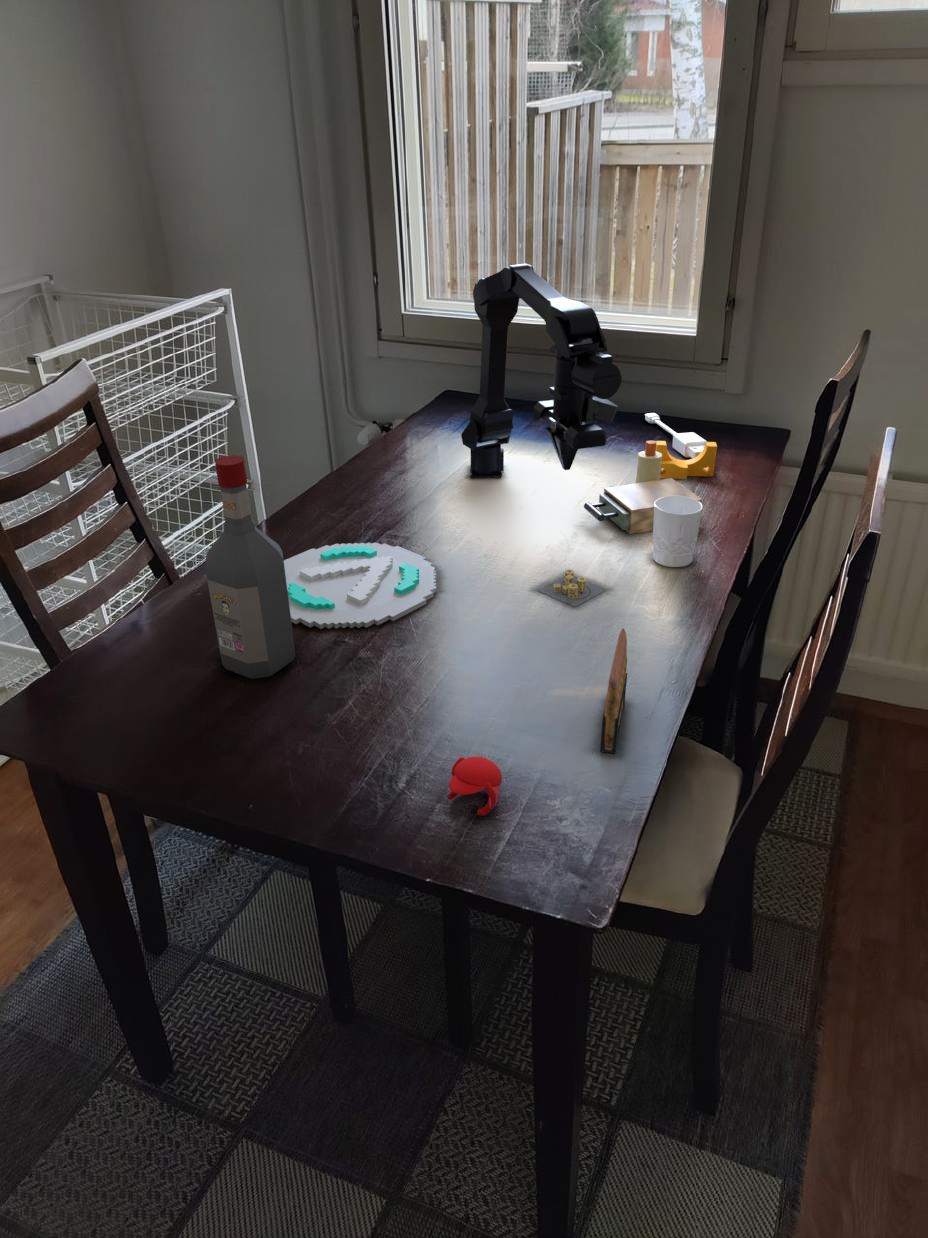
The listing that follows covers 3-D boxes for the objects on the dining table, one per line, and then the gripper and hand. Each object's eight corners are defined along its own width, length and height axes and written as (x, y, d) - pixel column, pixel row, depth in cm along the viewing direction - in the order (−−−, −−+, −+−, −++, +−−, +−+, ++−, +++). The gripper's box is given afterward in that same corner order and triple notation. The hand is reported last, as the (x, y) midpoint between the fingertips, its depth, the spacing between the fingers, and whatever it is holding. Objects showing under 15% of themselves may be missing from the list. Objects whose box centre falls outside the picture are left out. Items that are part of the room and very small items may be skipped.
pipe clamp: (654, 477, 189) (657, 447, 186) (653, 470, 193) (656, 440, 190) (714, 479, 188) (718, 449, 185) (711, 471, 192) (715, 441, 188)
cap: (457, 777, 108) (456, 736, 105) (507, 785, 107) (507, 744, 104) (438, 823, 102) (437, 781, 99) (491, 832, 100) (491, 789, 97)
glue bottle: (645, 499, 180) (650, 447, 174) (630, 491, 183) (634, 440, 178) (663, 493, 182) (668, 442, 176) (647, 486, 185) (652, 436, 180)
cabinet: (630, 534, 166) (632, 510, 163) (602, 510, 175) (604, 487, 173) (699, 522, 170) (702, 499, 167) (668, 500, 179) (671, 477, 176)
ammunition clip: (610, 702, 121) (616, 623, 115) (624, 704, 121) (631, 625, 114) (600, 752, 112) (606, 669, 106) (615, 754, 112) (622, 671, 106)
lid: (471, 580, 151) (471, 571, 150) (340, 648, 134) (339, 638, 133) (358, 533, 168) (357, 525, 167) (229, 587, 150) (227, 579, 149)
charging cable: (657, 420, 224) (658, 407, 222) (714, 461, 195) (716, 446, 194) (637, 422, 223) (638, 408, 221) (692, 463, 195) (693, 448, 193)
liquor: (261, 685, 126) (229, 478, 111) (213, 666, 130) (176, 465, 115) (305, 654, 132) (281, 455, 117) (258, 637, 137) (229, 443, 122)
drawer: (602, 533, 164) (603, 517, 163) (578, 512, 173) (579, 496, 171) (688, 519, 169) (689, 503, 168) (661, 499, 177) (662, 484, 176)
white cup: (700, 553, 159) (707, 499, 154) (690, 572, 152) (696, 517, 147) (655, 545, 161) (660, 492, 156) (643, 564, 155) (648, 509, 150)
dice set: (568, 578, 151) (568, 568, 150) (592, 589, 148) (593, 578, 147) (548, 589, 148) (548, 578, 147) (572, 600, 145) (573, 589, 144)
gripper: (638, 393, 152) (630, 482, 160) (590, 365, 168) (585, 446, 176) (577, 401, 149) (572, 490, 157) (533, 370, 165) (531, 453, 173)
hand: (566, 469), depth 166 cm, fingers closed
